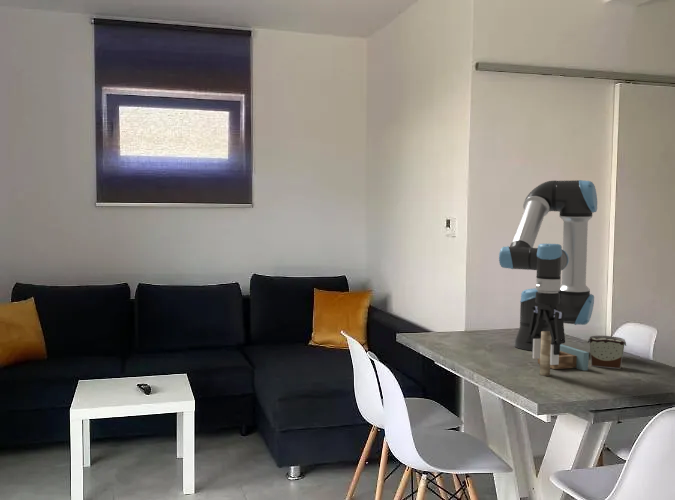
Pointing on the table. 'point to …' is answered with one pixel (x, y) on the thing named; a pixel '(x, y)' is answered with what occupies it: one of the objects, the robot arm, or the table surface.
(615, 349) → the food container
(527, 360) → the table surface
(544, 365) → the dowel
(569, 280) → the robot arm
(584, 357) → the wall
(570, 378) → the table surface
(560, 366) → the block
